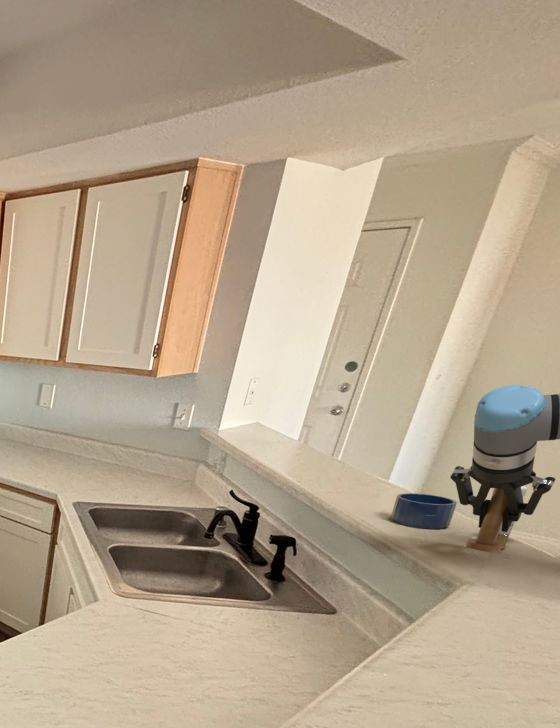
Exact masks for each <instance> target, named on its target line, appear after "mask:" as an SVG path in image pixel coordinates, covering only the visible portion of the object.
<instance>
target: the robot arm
mask: <svg viewBox="0 0 560 728" xmlns="http://www.w3.org/2000/svg"><path fill="white" fill-rule="evenodd" d="M473 420H474V421H473V424H474V425H473V443H472V445H473V446H472V448H473V449H472V460H471V464H472V465H471V466H470V467H469V468H465V467H463V466H460V465H457V466H455V468H454V469H453V471H452V473H451V475H450V476H449V478H450V479H451V480H452V481H453V482H454V483H455V487H456V492H457V496H458V500H459V504H460V505H462V506H468V505H469V506H472V507H471V508H472V515H473V516H478V517H479V518H478V528H479V529H480V528H481V525H482V522H483V520H484V517H485V514H486V511H487V509H488V506H489V503H490V500H491V499H488V498H487V497H488V494H489V493H490V490H491V489H494V488H498V489H503V491H504V495H506V498H507V503H508V507H507V508H506V510H505V512H504V515H503V523H502V531H503V532H507V531H508V529H509V527H510V525H511V523H512V521H515V522H514V523H517V522H518V521H519V520H520V518H521V516H522V514H524V515H527V516H531V515H533V514H534V512H535V511H536V509H537V507H538V505H539V503H540V501H541V499H542V496H543V495H544V494H547V493H548V492H550V491H551V489H552V488H553V485H554V483H555V482H556V480H557V479H556V477H553V476H547V477H544V478H543V477H540V476H537V473H536V471H534V464H535V458H536V452H537V446H538V442H543V441H556V440H560V393H554V394H543V393H542V391H540V390H539V389H538V388H535V387H533V386H529V385H528V386H525V385H522V384H509V385H504V386H501V387H498V388H495V389H492V390H490V391H489V392H487V393H486V394H484V395H483V396H481V398H480V399H479V401H478V402H477V406H476V411H475V415H474V419H473ZM471 478H472V480H474V481H476V482H477V483H479V484H480V487H479V488H478V492H477V495H474V489H473V486H472V485H473V484H472V481H471ZM530 484H532V486H531V487H532V490H533V492H532V493H531V496H530V498H529V499H528V502H524V496H523V497H522V491H521V487H522V486H527V485H530Z"/></svg>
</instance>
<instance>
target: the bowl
mask: <svg viewBox="0 0 560 728" xmlns="http://www.w3.org/2000/svg"><path fill="white" fill-rule="evenodd" d="M457 504H458V501H456V500H455V499H452V498H449V497H445V496H441V495H434V494H426V493H416V492H415V493H413V492H412V493H411V492H409V493H399V494H397V496H396V498H395V502H394V504H393V508H392V511H391V515H390V518H391V519H392V521H393V522H395V523H397V524H399V525H403V526H406V527H412V528H418V529H426V530H427V529H428V530H440V529H441V530H442V529H445V528H447V527H450V526H451V522H452V519H453V515H454V513H455V510H456V507H457Z"/></svg>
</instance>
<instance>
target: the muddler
mask: <svg viewBox="0 0 560 728" xmlns="http://www.w3.org/2000/svg"><path fill="white" fill-rule="evenodd" d="M493 489H494V488H493ZM492 493H493V494H491V497H490V499H489V500H490V503H489V506H488V509H487V511H486V514H485V517H484V520H483V522H482V525H481V528H480V527H479V531H478V535H477V537H476V538H468V540H467V542H466V545H465V548H470V549H473V550H477V551H481V552H487V553H488V552H489V553H501V550H502V549H501V548H502V544H500V543H497V542H495V541H496V538H497V536H498V533H499V530H500V527H501V525H502V522H503V515H504V512H505V510H506V508H507V507H508V503H507V498H506V495H504V491H503V489H498V488H495V489H494V492H493V491H492Z"/></svg>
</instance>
